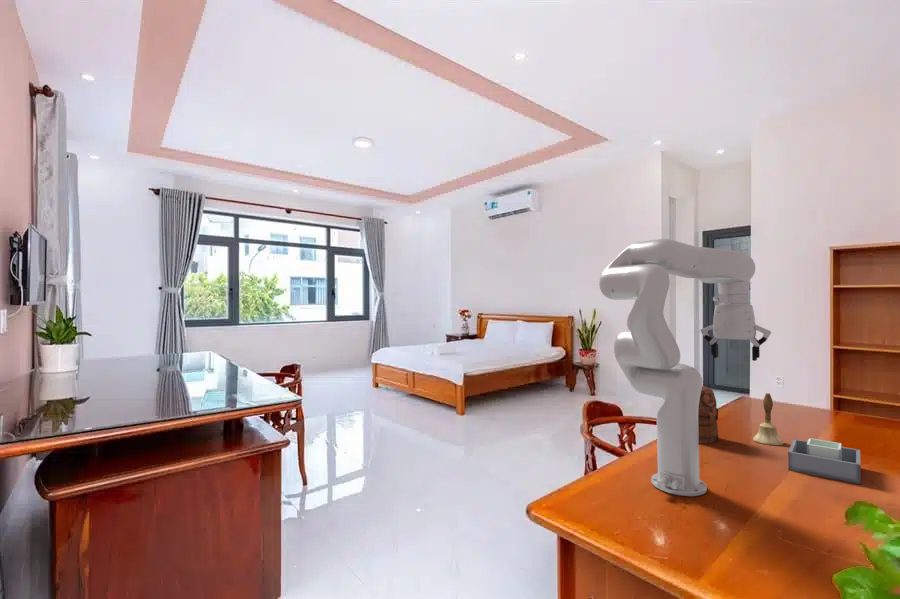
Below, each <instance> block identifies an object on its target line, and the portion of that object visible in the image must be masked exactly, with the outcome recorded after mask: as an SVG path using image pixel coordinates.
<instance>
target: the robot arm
mask: <svg viewBox="0 0 900 599" xmlns="http://www.w3.org/2000/svg"><path fill="white" fill-rule="evenodd" d="M755 273H756V264H755V261H754V259H753V258H752V257H751V256H750V255H749V254H747V253H745V252H742V251H738V250H734V249H725V248H714V247H713V248H712V247H704V246H694V245H691V244H688V243H684V242H681V241H678V240H673V239H671V238H669V239H668V238H657V239H651V240H644V241H638V242H637V241H636V242H634V243H632V244H630V245H629V246H627V247H626V248H624V249H623V250H622V251H621V252H620V253H619V254H617V256H616V257H615V258H614V259H613V260H612V261H611V262H610V263H609V264H608V265H607V266H606V267H605V269H604V270H603V271H602V272H601V274H600V278H599V282H598V283H599V284H598V285H599V290H600V292H601V294H602V295H603V296H604V297H606V298H607V299H610V300H616V301H621V300H623V301H624V300H625V301H626V300H629V301H630V300H631V301H632V300H635V301H634V303H633V306H632V308H631V310H630V312H629V313H628V316H627V319H626V326H627V329H628V330H623V331H622V332H620V333H619V334H618V335H617V336H616V337H615V340H614V343H613V353H614V357H615V360H616V362H617V364H618V366H619V367H620V369H621V370H622V372H623V374H624V376H625V378H626V379H627V381H628V382H629V384H630V386H631V387H632V388H633V389H634V390H635V391H636V392H637V393H639V394H643V395H647V396H650V397H651V396H652V397H656V398H661V399H664V400H665V401H664V402H663V404H662V405H661V406H660V408H659V409H658V410H657V415H656V445H657V446H656V450H657V454H656V455H657V472H656V473H654V474H652V475H651V478H650V479H651V480H650V481H651V484H652V485H653V486H654V487H655V488H657V489H658V490H660V491H662V492H666V493H667V494H670V495H675V496H680V497H681V496H682V497H699V496H702V495H705V494H706V493H707V492H708V491H707V490H708V489H707V484H706V483H705V482H704V481H703V480H701V479H700V447H699V446H700V443H699V432H698V409H699V400H700V394H701V389H702V386H703V377H702V375H701V373H700V371H699V370H698V369H696V368H694V367H693V366H691V365H688V364H685V363H681V362H680V361H681V351H680V348H679V345H678V344H677V342H676V339H675V337H674V336H673V333H672V332H671V329H670V327H669V325H668V324H667V321H666V318H665V315H664V309H665V304H666V299H667V295H668V293H669V288H670V275H673V276H677V277H680V278H681V277H682V278H685V279H698V280H699V281H700V282H702V283H705V284H717V285H718V292H717V293H718V294H717V295H716V296H713V297H712V301H713V302H717V303H718V304H716V305H715V306H714V311H713V319H712V320H713V321H712V323H711V324H710V325H707V326H706V327H704V328H701V329H700V333H701V334H702V336H703V338H704V339H705V340H706V341H707V342H708V343H709V344H710V350H711V351H710V352H711V356H713V359H717V358H719V344H718V342H719V341H720V340H739V341H740V340H741V341H746V340H747V341H749V342H750V343H751V344H752V347H751V355H752V356H751V358H752V361H753V362H756V361H757V360H758V359H759V358H760V346H761V345H763V344H764V343H765V342H767V340H768V339H769V337H770V336H771V334H772V331H771V330H769V329H767V328H764V327H763V326H759V325H757V324H756V318H755V311H754V307H753V305H752V304H750V280H751V279H752V278H753V276H754V275H755ZM711 330H712V336H713V337H711V335H709V331H711ZM757 331H758V332H760V333H762V337H761V338H759V339H757V338H756V337H757V335H756V334H757Z"/></svg>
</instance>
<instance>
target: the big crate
mask: <svg viewBox="0 0 900 599" xmlns="http://www.w3.org/2000/svg"><path fill="white" fill-rule="evenodd" d="M807 442H808V440H802V439H796V438H793V439H792V442H791V444H790V446H789V449H788V452H787V458H788V459H787V460H788V461H787V462H788V468H787V469H788V471H791V470H792V472H796V471H797V472H796V473H800V474H801V473H802V474H807V475H812V476H816V477H822V478H827V479H831V480H835V481H841V482H842V481H843V482H847V483H852V484H855V485H860V484H861V483H862V480H861V477H862V476H861V474H862V472H861V470H862V469H861V449H858V448H852V447H851V448H850V447H846V446H845V447H844V446H841V448H842V461H840V460H835V459H829V458H823V457H818V456H812V455H807ZM861 485H862V484H861Z"/></svg>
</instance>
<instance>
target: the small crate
mask: <svg viewBox="0 0 900 599" xmlns="http://www.w3.org/2000/svg"><path fill="white" fill-rule="evenodd" d="M807 441H808V442H807V455H812V456H818V457H823V458H829V459H835V460H840V461H842V448H841V447H842V443H841V442H834V441H829V440H825V439H823V440H822V439H818V438H817V439H816V438H808V439H807Z"/></svg>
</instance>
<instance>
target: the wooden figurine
mask: <svg viewBox="0 0 900 599" xmlns="http://www.w3.org/2000/svg"><path fill="white" fill-rule="evenodd" d="M718 420H719V408H718V407H717V399H716V396H715V392H714V390H713V389H711V388H710V387H707V386H704V385H702V389H701V394H700V400H699V409H698V432H699V444H713V443H714V442H716V441H717V440H718V438H719V437H720V436H719V427H718V422H717V421H718Z"/></svg>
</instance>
